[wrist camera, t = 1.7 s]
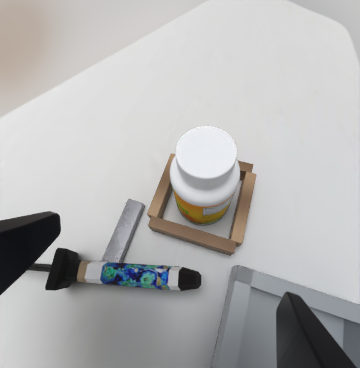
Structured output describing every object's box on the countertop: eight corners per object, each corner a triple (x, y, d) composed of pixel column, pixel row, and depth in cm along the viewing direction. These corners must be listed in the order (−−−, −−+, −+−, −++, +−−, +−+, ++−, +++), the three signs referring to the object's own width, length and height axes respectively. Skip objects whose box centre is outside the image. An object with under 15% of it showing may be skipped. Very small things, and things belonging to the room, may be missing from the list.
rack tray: (350, 471, 14) (387, 518, 11) (203, 402, 16) (204, 429, 13) (352, 306, 18) (380, 311, 15) (232, 266, 20) (238, 264, 17)
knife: (202, 270, 19) (201, 266, 15) (198, 307, 18) (197, 315, 14) (-72, 233, 24) (-129, 223, 20) (-90, 261, 22) (-154, 257, 18)
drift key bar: (113, 284, 20) (108, 285, 19) (98, 279, 20) (93, 279, 19) (145, 206, 23) (142, 203, 22) (131, 201, 23) (128, 198, 22)
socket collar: (235, 257, 20) (239, 255, 18) (147, 228, 22) (143, 224, 20) (253, 174, 23) (258, 165, 21) (175, 155, 25) (173, 145, 23)
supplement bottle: (169, 188, 23) (152, 134, 14) (214, 170, 24) (224, 106, 15) (189, 234, 21) (183, 203, 12) (237, 213, 22) (266, 168, 13)
